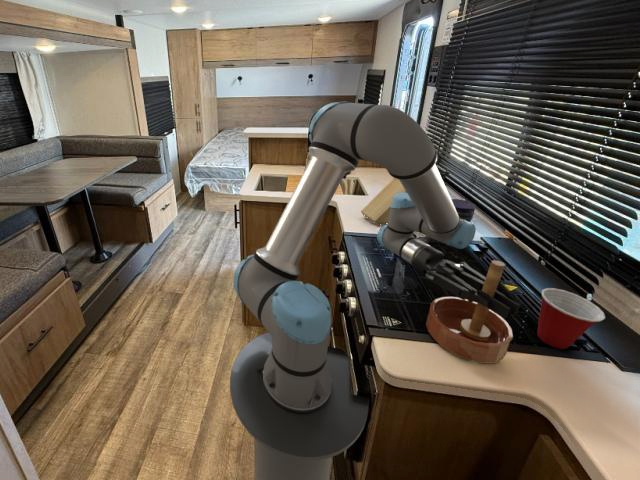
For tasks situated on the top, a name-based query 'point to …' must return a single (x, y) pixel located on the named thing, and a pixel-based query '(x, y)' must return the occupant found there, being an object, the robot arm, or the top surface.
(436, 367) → the top surface
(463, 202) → the storage jar
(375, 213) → the knife block
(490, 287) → the wooden pestle
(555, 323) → the plastic cup
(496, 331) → the bowl
